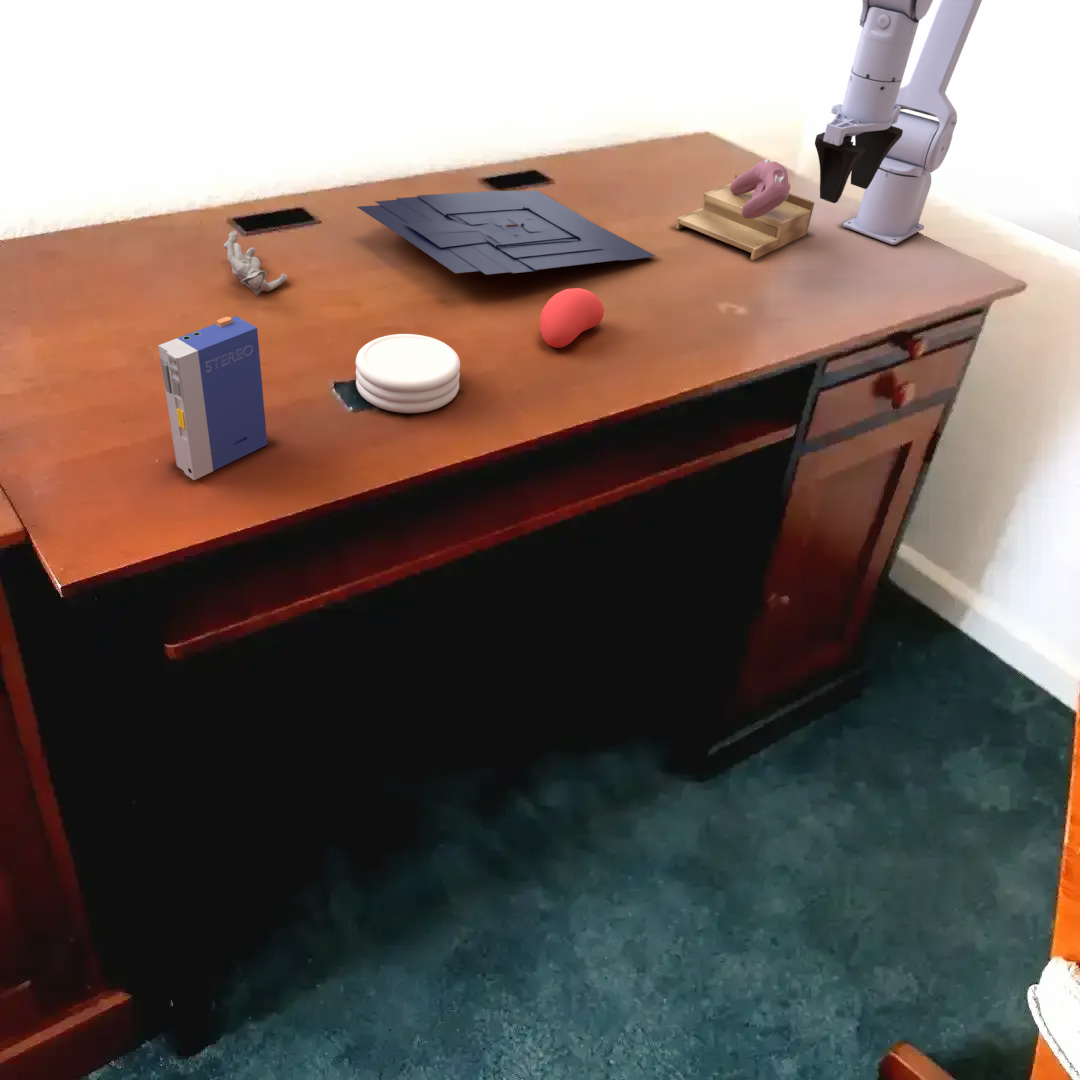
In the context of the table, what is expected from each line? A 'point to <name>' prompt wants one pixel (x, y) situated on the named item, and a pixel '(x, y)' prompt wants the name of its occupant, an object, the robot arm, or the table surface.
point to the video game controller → (762, 188)
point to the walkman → (214, 395)
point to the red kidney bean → (569, 316)
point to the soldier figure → (249, 267)
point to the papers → (500, 231)
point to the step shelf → (749, 221)
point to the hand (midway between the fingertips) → (844, 193)
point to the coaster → (407, 373)
